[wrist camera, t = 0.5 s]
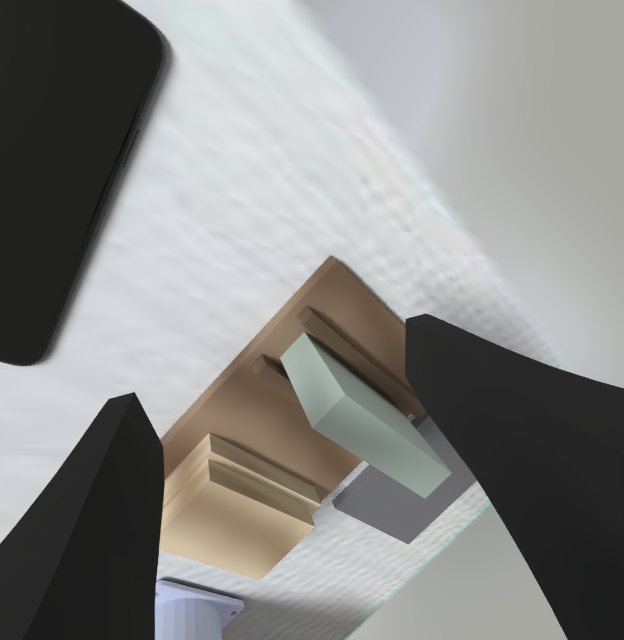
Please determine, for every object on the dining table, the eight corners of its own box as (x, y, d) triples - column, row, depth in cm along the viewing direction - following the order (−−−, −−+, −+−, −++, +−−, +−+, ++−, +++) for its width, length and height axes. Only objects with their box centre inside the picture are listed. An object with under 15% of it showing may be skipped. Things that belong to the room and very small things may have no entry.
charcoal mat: (405, 538, 34) (408, 544, 33) (332, 501, 29) (335, 508, 28) (504, 444, 33) (509, 449, 32) (446, 389, 28) (451, 394, 27)
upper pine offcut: (256, 557, 25) (260, 580, 24) (149, 521, 21) (147, 546, 20) (307, 506, 25) (314, 526, 23) (207, 459, 21) (209, 480, 19)
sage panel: (375, 426, 26) (425, 498, 20) (279, 357, 21) (312, 428, 16) (396, 405, 25) (452, 473, 20) (304, 331, 21) (345, 394, 16)
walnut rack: (269, 538, 28) (275, 566, 27) (121, 481, 23) (116, 512, 21) (442, 365, 27) (462, 383, 25) (330, 255, 21) (345, 266, 19)
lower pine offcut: (256, 545, 27) (260, 565, 26) (142, 503, 22) (140, 526, 21) (314, 486, 26) (321, 504, 25) (209, 432, 22) (210, 451, 20)
